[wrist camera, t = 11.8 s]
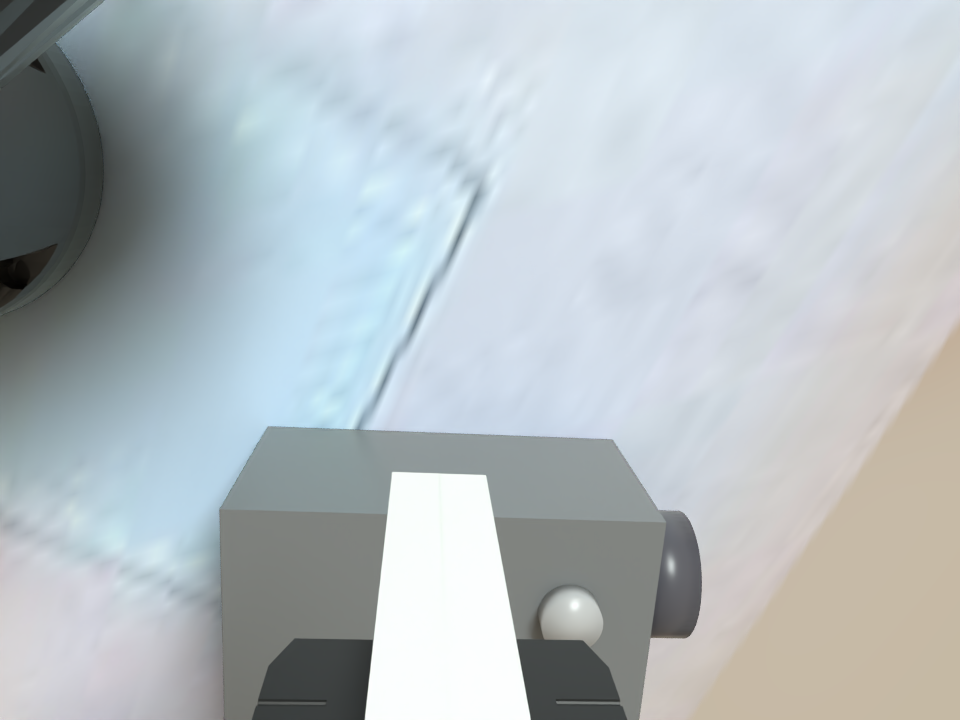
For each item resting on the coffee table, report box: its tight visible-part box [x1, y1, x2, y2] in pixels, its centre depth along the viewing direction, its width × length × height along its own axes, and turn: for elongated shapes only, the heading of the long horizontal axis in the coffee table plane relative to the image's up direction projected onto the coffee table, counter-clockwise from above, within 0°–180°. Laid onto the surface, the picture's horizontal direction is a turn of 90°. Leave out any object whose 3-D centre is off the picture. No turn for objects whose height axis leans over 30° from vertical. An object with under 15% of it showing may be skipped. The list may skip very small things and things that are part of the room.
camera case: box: [220, 426, 702, 720], centre depth 35 cm, size 19×12×10 cm, turn 86°
